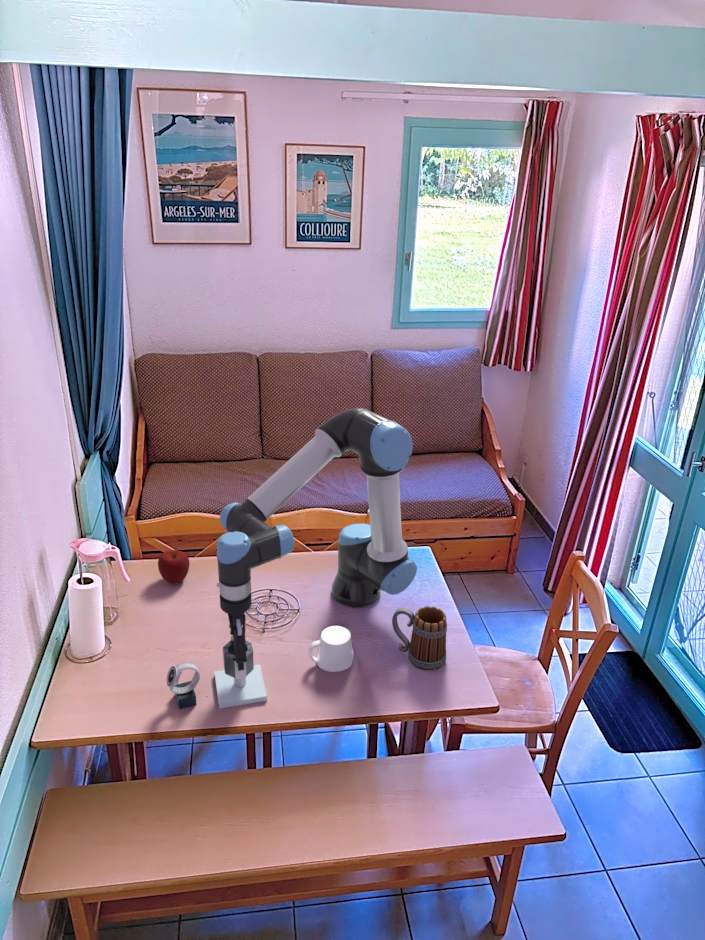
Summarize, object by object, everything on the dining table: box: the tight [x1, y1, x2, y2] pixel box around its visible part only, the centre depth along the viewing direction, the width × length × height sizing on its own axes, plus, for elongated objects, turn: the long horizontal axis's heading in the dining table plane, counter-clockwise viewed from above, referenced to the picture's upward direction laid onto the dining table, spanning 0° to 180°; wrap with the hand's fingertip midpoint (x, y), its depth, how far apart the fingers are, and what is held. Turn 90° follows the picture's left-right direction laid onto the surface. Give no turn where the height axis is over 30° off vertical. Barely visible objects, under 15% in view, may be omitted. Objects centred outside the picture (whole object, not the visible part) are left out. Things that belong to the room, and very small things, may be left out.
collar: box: [222, 640, 255, 678], centre depth 183 cm, size 7×7×6 cm
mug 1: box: [308, 625, 354, 673], centre depth 195 cm, size 12×9×8 cm
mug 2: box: [391, 605, 448, 672], centre depth 197 cm, size 16×11×15 cm
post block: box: [213, 663, 268, 709], centre depth 186 cm, size 12×12×8 cm
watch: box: [166, 661, 201, 710], centre depth 181 cm, size 6×8×11 cm
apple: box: [157, 549, 190, 585], centre depth 227 cm, size 10×10×10 cm
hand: (238, 666), depth 185 cm, fingers closed on collar, 7 cm apart
